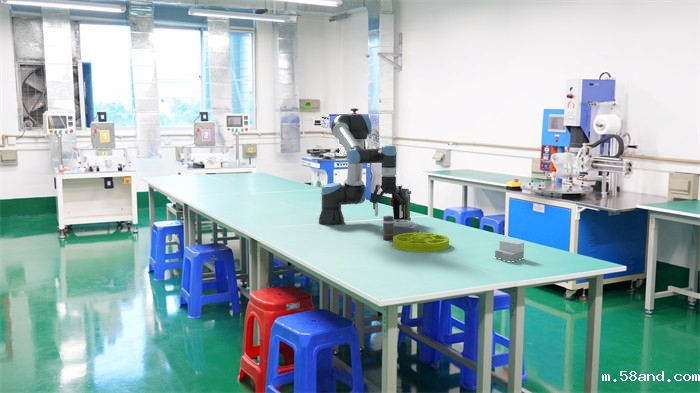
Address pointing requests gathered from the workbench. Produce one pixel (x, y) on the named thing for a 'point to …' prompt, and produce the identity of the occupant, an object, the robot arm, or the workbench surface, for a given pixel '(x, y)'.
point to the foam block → (510, 250)
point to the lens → (388, 228)
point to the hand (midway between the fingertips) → (388, 216)
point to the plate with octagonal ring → (404, 227)
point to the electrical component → (396, 204)
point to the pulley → (421, 242)
